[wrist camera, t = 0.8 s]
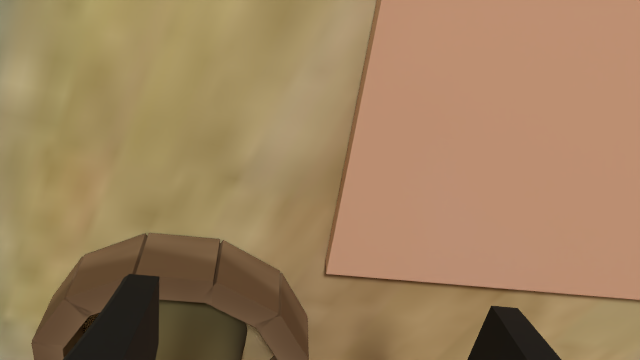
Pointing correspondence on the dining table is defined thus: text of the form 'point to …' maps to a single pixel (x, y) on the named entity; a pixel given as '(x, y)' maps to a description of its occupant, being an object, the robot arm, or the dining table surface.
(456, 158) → the coaster
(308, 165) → the dining table surface
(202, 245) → the holder ring
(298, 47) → the dining table surface
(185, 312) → the cork
